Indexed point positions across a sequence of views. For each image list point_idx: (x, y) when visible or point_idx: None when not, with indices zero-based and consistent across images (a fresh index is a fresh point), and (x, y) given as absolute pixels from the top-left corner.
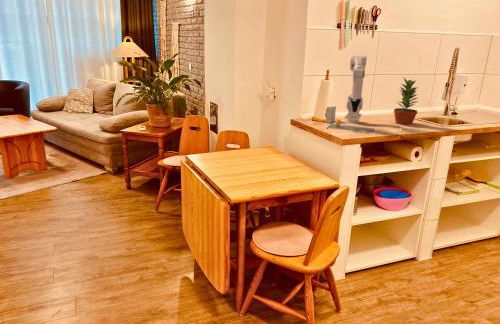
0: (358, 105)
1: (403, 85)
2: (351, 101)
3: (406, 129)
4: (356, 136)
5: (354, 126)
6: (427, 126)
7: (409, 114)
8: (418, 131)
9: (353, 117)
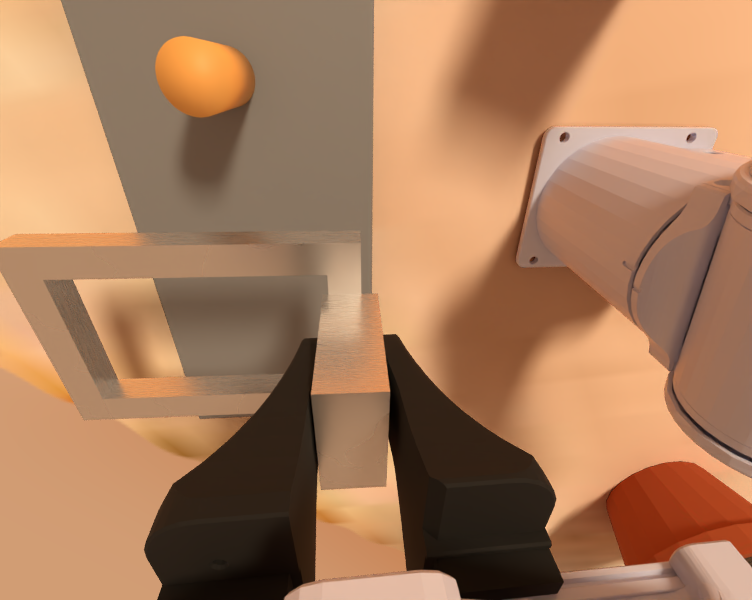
0: (396, 479)
1: None
2: (161, 511)
3: None
4: (21, 326)
5: (362, 262)
6: (589, 562)
7: None
8: None
9: (66, 364)
